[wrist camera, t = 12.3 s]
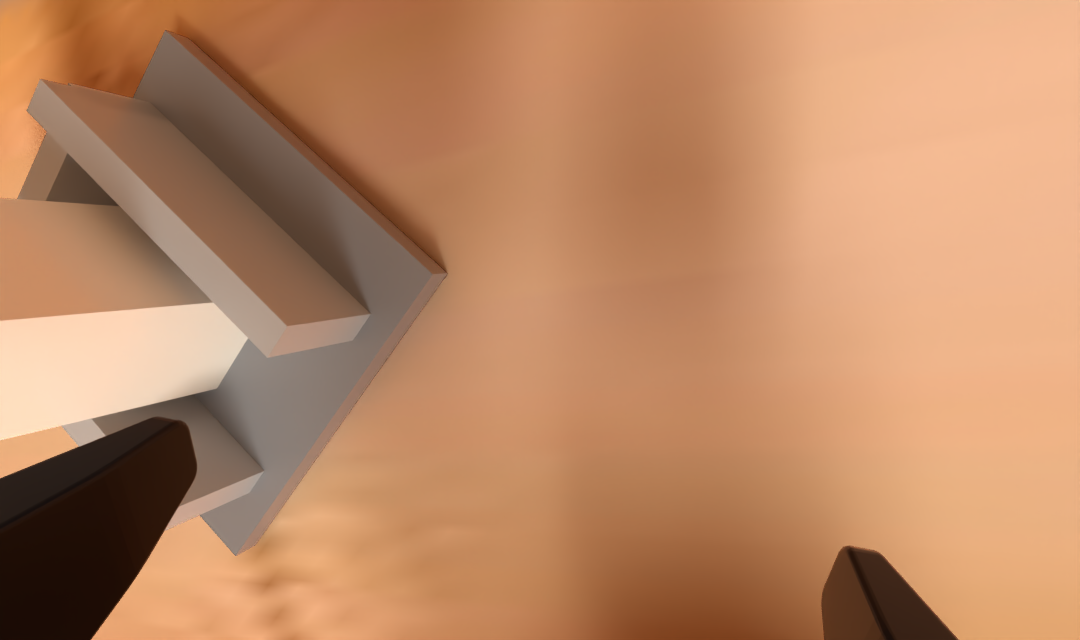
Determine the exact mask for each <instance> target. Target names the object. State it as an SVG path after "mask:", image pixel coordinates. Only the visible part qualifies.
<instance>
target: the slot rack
mask: <svg viewBox="0 0 1080 640" xmlns="http://www.w3.org/2000/svg"><path fill="white" fill-rule="evenodd" d="M27 112H28V113H29V114H30V115H31V116H32V117H33V118H34V119H35V120H36V121H37V122H38V123H39V124H40V125H41V126H42V127H43V128H44V129H45V130H46V131H47V133H46V135H45V137H44V139H43V142H42V144H41V146H40V149H39V151H38V153H37V155H36V158H35V160H34V162H33V164H32V167H31V169H30V171H29V173H28V176H27V178H26V180H25V183H24V185H23V187H22V189H21V192H20V194H19V196H18V198H17V199H24V200H38V201H52V202H66V203H80V204H95V205H109V206H120V207H121V208H122V209H123V210H124V211H125V212H126V213H127V214H128V215H129V216H130V217H131V218H132V219H133V221H134V222H135V223H136V224H137V225H138V226H139V227H140V228H141V229H142V230H143V231H144V232H145V233H146V234H147V235H148V236H149V237H150V238H151V239H152V240H153V241H154V242H155V243H156V244H157V245H158V246H159V247H160V248H161V249H162V250H163V251H164V252H165V253H166V254H167V255H168V256H169V257H170V258H171V260H172V261H173V262H174V263H175V264H176V265H177V266H178V267H179V268H180V269H181V270H182V271H183V272H184V273H185V274H186V275H187V276H188V277H189V278H190V279H191V280H192V281H193V282H194V283H195V284H196V285H197V286H198V287H199V288H200V289H201V290H202V291H203V292H204V293H205V294H206V295H207V296H208V297H209V299H210V300H211V301H212V302H213V303H214V304H215V305H216V306H217V307H218V308H219V309H220V310H221V311H222V312H223V313H224V314H225V315H226V316H227V317H228V318H229V319H230V320H231V321H232V322H233V323H234V324H235V325H236V326H237V327H238V328H239V329H240V330H241V331H242V332H243V333H244V334H245V335H246V336H247V337H248V339H247V341H246V342H245V344H244V345H243V347H242V349H241V350H240V352H239V354H238V355H237V357H236V358H235V360H234V362H233V363H232V365H231V367H230V368H229V370H228V372H227V373H226V375H225V376H224V378H223V380H222V381H221V383H220V385H219V386H218V388H217V389H213V390H209V391H205V392H200V393H196V394H192V395H188V396H184V397H179V398H175V399H171V400H167V401H163V402H159V403H154V404H150V405H146V406H142V407H138V408H133V409H129V410H125V411H121V412H117V413H112V414H108V415H104V416H100V417H96V418H91V419H87V420H83V421H79V422H75V423H70V424H66V425H62V427H63V428H64V430H65V431H66V432H67V433H68V434H69V435H70V437H71V438H72V439H73V440H74V441H75V442H76V444H77V445H78V446H82V445H84V444H87V443H89V442H92V441H94V440H97V439H99V438H102V437H104V436H107V435H109V434H112V433H114V432H117V431H119V430H122V429H124V428H127V427H129V426H132V425H134V424H136V423H139V422H141V421H144V420H146V419H149V418H152V417H155V416H162V417H168V418H173V419H179V420H182V421H184V422H185V423H186V424H187V425H188V427H189V429H190V434H191V438H192V442H193V446H194V451H195V455H196V459H197V473H196V477H195V479H194V481H193V483H192V485H191V487H190V489H189V490H188V492H187V494H186V495H185V497H184V499H183V500H182V502H181V504H180V505H179V507H178V509H177V510H176V512H175V514H174V516H173V517H172V519H171V521H170V522H169V524H168V526H167V527H166V529H165V530H168V529H170V528H172V527H174V526H176V525H179V524H181V523H183V522H185V521H188V520H190V519H192V518H194V517H197V516H199V515H200V516H201V517H202V518H203V520H204V521H205V522H206V523H207V524H208V525H209V526H210V528H211V529H212V530H213V531H214V532H215V533H216V534H217V536H218V537H219V538H220V539H221V540H222V541H223V542H224V544H225V545H226V546H227V547H228V548H229V549H230V550H231V551H232V553H233V554H234V555H235V556H237V555H238V554H240V553H242V552H244V551H246V550H247V549H249V548H251V547H253V546H255V545H256V543H257V542H258V540H259V539H260V538H261V536H262V535H263V533H264V532H265V531H266V529H267V528H268V526H269V525H270V523H271V522H272V521H273V519H274V518H275V516H276V515H277V514H278V512H279V511H280V509H281V508H282V507H283V505H284V504H285V502H286V501H287V499H288V498H289V497H290V495H291V494H292V492H293V491H294V490H295V488H296V487H297V485H298V484H299V482H300V481H301V480H302V478H303V477H304V475H305V474H306V473H307V471H308V470H309V468H310V467H311V466H312V464H313V463H314V461H315V460H316V458H317V457H318V456H319V454H320V453H321V451H322V450H323V449H324V447H325V446H326V444H327V443H328V442H329V440H330V439H331V437H332V436H333V434H334V433H335V432H336V430H337V429H338V427H339V426H340V425H341V423H342V422H343V420H344V419H345V418H346V416H347V415H348V413H349V412H350V410H351V409H352V408H353V406H354V405H355V403H356V402H357V401H358V399H359V398H360V396H361V395H362V394H363V392H364V391H365V389H366V388H367V386H368V385H369V384H370V382H371V381H372V379H373V378H374V377H375V375H376V374H377V372H378V371H379V370H380V368H381V367H382V365H383V364H384V362H385V361H386V360H387V358H388V357H389V355H390V354H391V353H392V351H393V350H394V348H395V347H396V346H397V344H398V343H399V341H400V340H401V338H402V337H403V336H404V334H405V333H406V331H407V330H408V329H409V327H410V326H411V324H412V323H413V322H414V320H415V319H416V317H417V316H418V314H419V313H420V312H421V310H422V309H423V307H424V306H425V305H426V303H427V302H428V300H429V299H430V297H431V296H432V295H433V293H434V292H435V290H436V289H437V288H438V286H439V285H440V283H441V282H442V281H443V279H444V278H445V276H446V275H447V272H445V271H444V270H443V269H442V268H441V267H440V266H439V265H438V264H437V263H436V262H434V261H433V260H432V259H431V258H430V257H429V256H428V255H427V254H426V253H425V252H423V251H422V250H421V249H420V248H419V247H418V246H417V245H416V244H415V243H413V242H412V241H411V240H410V239H409V238H408V237H407V236H406V235H405V234H404V233H402V232H401V231H400V230H399V229H398V228H397V227H396V226H395V225H394V224H393V223H391V222H390V221H389V220H388V219H387V218H386V217H385V216H384V215H383V214H382V213H380V212H379V211H378V210H377V209H376V208H375V207H374V206H373V205H372V204H370V203H369V202H368V201H367V200H366V199H365V198H364V197H363V196H362V195H361V194H359V193H358V192H357V191H356V190H355V189H354V188H353V187H352V186H351V185H350V184H348V183H347V182H346V181H345V180H344V179H343V178H342V177H341V176H340V175H339V174H337V173H336V172H335V171H334V170H333V169H332V168H331V167H330V166H329V165H328V164H326V163H325V162H324V161H323V160H322V159H321V158H320V157H319V156H318V155H316V154H315V153H314V152H313V151H312V150H311V149H310V148H309V147H308V146H307V145H305V144H304V143H303V142H302V141H301V140H300V139H299V138H298V137H297V136H296V135H294V134H293V133H292V132H291V131H290V130H289V129H288V128H287V127H286V126H285V125H283V124H282V123H281V122H280V121H279V120H278V119H277V118H276V117H275V116H274V115H272V114H271V113H270V112H269V111H268V110H267V109H266V108H265V107H264V106H262V105H261V104H260V103H259V102H258V101H257V100H256V99H255V98H254V97H253V96H251V95H250V94H249V93H248V92H247V91H246V90H245V89H244V88H243V87H242V86H240V85H239V84H238V83H237V82H236V81H235V80H234V79H233V78H232V77H231V76H229V75H228V74H227V73H226V72H225V71H224V70H223V69H222V68H221V67H220V66H218V65H217V64H216V63H215V62H214V61H213V60H212V59H211V58H210V57H208V56H207V55H206V54H205V53H204V52H203V51H202V50H201V49H200V48H199V47H197V46H196V45H195V44H194V43H193V42H192V41H191V40H190V39H189V38H186V37H183V36H181V35H178V34H175V33H172V32H170V31H167V30H165V32H164V34H163V36H162V38H161V40H160V42H159V44H158V46H157V49H156V51H155V53H154V55H153V57H152V59H151V61H150V63H149V65H148V67H147V69H146V72H145V74H144V76H143V78H142V80H141V82H140V84H139V86H138V88H137V90H136V92H135V94H134V97H133V98H130V97H126V96H122V95H118V94H114V93H109V92H105V91H101V90H97V89H93V88H88V87H84V86H80V85H76V84H72V83H68V85H65V84H60V83H56V82H52V81H48V80H43V79H40V81H39V83H38V85H37V88H36V90H35V92H34V95H33V97H32V99H31V102H30V104H29V106H28V109H27Z"/></svg>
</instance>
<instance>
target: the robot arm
mask: <svg viewBox="0 0 1080 640" xmlns="http://www.w3.org/2000/svg"><path fill="white" fill-rule="evenodd" d="M196 473H197V459H196V455H195V451H194V446H193V442H192V438H191V434H190V429H189V427H188V425H187V424H186V423H185V422H184V421H182V420H179V419H173V418H168V417H162V416H155V417H152V418H149V419H146V420H144V421H141V422H139V423H136V424H134V425H132V426H129V427H127V428H124V429H122V430H119V431H117V432H114V433H112V434H109V435H107V436H104V437H102V438H99V439H97V440H94V441H92V442H89V443H87V444H84V445H82V446H79V447H77V448H74V449H72V450H70V451H67V452H65V453H62V454H60V455H57V456H55V457H52V458H50V459H47V460H45V461H42V462H40V463H37V464H35V465H32V466H30V467H27V468H25V469H22V470H20V471H17V472H15V473H12V474H10V475H8V476H5V477H3V478H0V640H91V639H92V638H93V636H94V635H95V634H96V632H97V631H98V630H99V628H100V627H101V625H102V624H103V623H104V621H105V620H106V619H107V617H108V616H109V614H110V613H111V612H112V610H113V609H114V608H115V606H116V605H117V604H118V602H119V601H120V599H121V598H122V597H123V595H124V594H125V593H126V591H127V590H128V588H129V587H130V585H131V584H132V582H133V581H134V580H135V578H136V577H137V575H138V574H139V572H140V570H141V569H142V567H143V566H144V564H145V563H146V561H147V559H148V558H149V556H150V554H151V553H152V551H153V549H154V548H155V546H156V544H157V543H158V541H159V539H160V537H161V536H162V534H163V532H164V531H165V529H166V527H167V526H168V524H169V522H170V521H171V519H172V517H173V516H174V514H175V512H176V510H177V509H178V507H179V505H180V504H181V502H182V500H183V499H184V497H185V495H186V494H187V492H188V490H189V489H190V487H191V485H192V483H193V481H194V479H195V477H196ZM821 605H822V619H823V631H824V640H959V639H958V638H957V637H956V636H955V635H954V634H953V633H952V632H951V631H950V630H949V628H948V627H947V626H946V625H945V624H944V623H943V622H942V621H941V620H940V618H939V617H938V616H937V615H936V614H935V613H934V612H933V611H932V610H931V608H930V607H929V606H928V605H927V604H926V603H925V602H924V601H923V600H922V598H921V597H920V596H919V595H918V594H917V593H916V592H915V591H914V590H913V588H912V587H911V586H910V585H909V584H908V583H907V582H906V581H905V580H904V578H903V577H902V576H901V575H900V574H899V573H898V572H897V571H896V570H895V568H894V567H893V566H892V565H891V564H890V563H889V562H888V561H887V560H886V558H885V557H884V556H883V555H881V554H880V553H879V552H877V551H874V550H870V549H865V548H859V547H854V546H845V547H843V548H842V549H841V550H840V552H839V553H838V556H837V558H836V560H835V563H834V565H833V567H832V570H831V572H830V574H829V576H828V579H827V581H826V583H825V586H824V589H823V593H822V604H821Z"/></svg>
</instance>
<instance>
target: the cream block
mask: <svg viewBox="0 0 1080 640" xmlns="http://www.w3.org/2000/svg"><path fill="white" fill-rule="evenodd" d="M247 339H248V337H247V336H246V335H245V334H244V333H243V332H242V331H241V330H240V329H239V328H238V327H237V326H236V325H235V324H234V323H233V322H232V321H231V320H230V319H229V318H228V317H227V316H226V315H225V314H224V313H223V312H222V311H221V310H220V309H219V308H218V307H217V306H216V305H215V304H214V303H213V302H212V301H211V300H210V299H209V297H208V296H207V295H206V294H205V293H204V292H203V291H202V290H201V289H200V288H199V287H198V286H197V285H196V284H195V283H194V282H193V281H192V280H191V279H190V278H189V277H188V276H187V275H186V274H185V273H184V272H183V271H182V270H181V269H180V268H179V267H178V266H177V265H176V264H175V263H174V262H173V261H172V260H171V258H170V257H169V256H168V255H167V254H166V253H165V252H164V251H163V250H162V249H161V248H160V247H159V246H158V245H157V244H156V243H155V242H154V241H153V240H152V239H151V238H150V237H149V236H148V235H147V234H146V233H145V232H144V231H143V230H142V229H141V228H140V227H139V226H138V225H137V224H136V223H135V222H134V221H133V219H132V218H131V217H130V216H129V215H128V214H127V213H126V212H125V211H124V210H123V209H122V208H121V207H120V206H109V205H95V204H80V203H66V202H52V201H38V200H24V199H10V198H0V440H3V439H8V438H12V437H16V436H20V435H24V434H29V433H33V432H37V431H41V430H45V429H49V428H54V427H58V426H62V425H66V424H70V423H75V422H79V421H83V420H87V419H91V418H96V417H100V416H104V415H108V414H112V413H117V412H121V411H125V410H129V409H133V408H138V407H142V406H146V405H150V404H154V403H159V402H163V401H167V400H171V399H175V398H179V397H184V396H188V395H192V394H196V393H200V392H205V391H209V390H213V389H217V388H218V386H219V385H220V383H221V381H222V380H223V378H224V376H225V375H226V373H227V372H228V370H229V368H230V367H231V365H232V363H233V362H234V360H235V358H236V357H237V355H238V354H239V352H240V350H241V349H242V347H243V345H244V344H245V342H246V341H247Z"/></svg>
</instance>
